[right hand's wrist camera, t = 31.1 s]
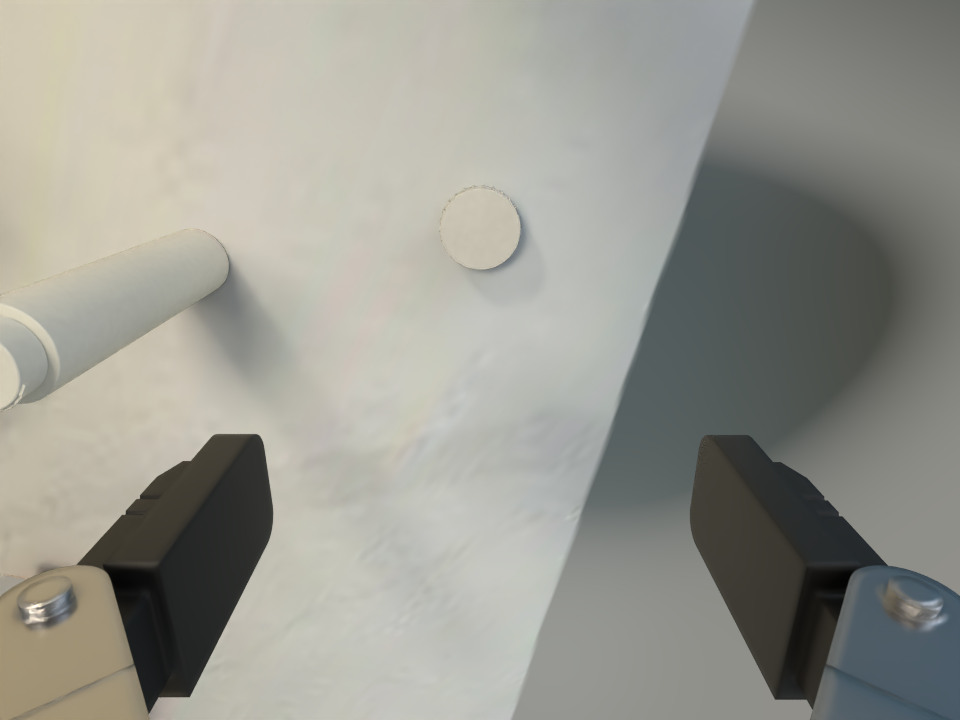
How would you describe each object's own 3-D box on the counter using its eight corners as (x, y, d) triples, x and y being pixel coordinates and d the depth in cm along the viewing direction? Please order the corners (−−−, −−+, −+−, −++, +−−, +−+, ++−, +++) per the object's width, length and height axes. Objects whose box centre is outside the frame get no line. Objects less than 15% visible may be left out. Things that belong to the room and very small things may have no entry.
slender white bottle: (155, 274, 40) (-100, 392, 23) (175, 216, 39) (-78, 294, 21) (216, 304, 41) (16, 440, 23) (238, 248, 40) (44, 349, 22)
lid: (523, 187, 38) (525, 190, 37) (516, 267, 40) (517, 273, 38) (442, 181, 38) (441, 184, 36) (439, 262, 40) (437, 268, 38)
